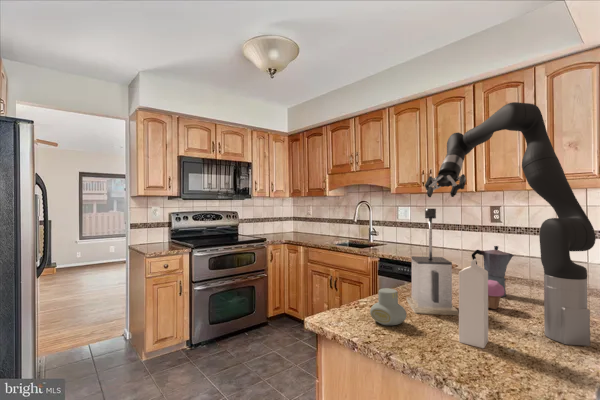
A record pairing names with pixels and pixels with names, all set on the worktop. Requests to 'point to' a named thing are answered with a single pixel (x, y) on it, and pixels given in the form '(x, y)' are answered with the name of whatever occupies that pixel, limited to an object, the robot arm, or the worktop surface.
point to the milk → (473, 305)
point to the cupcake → (494, 293)
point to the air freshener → (388, 308)
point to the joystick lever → (430, 227)
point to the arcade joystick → (431, 286)
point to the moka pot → (495, 264)
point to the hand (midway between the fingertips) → (440, 195)
